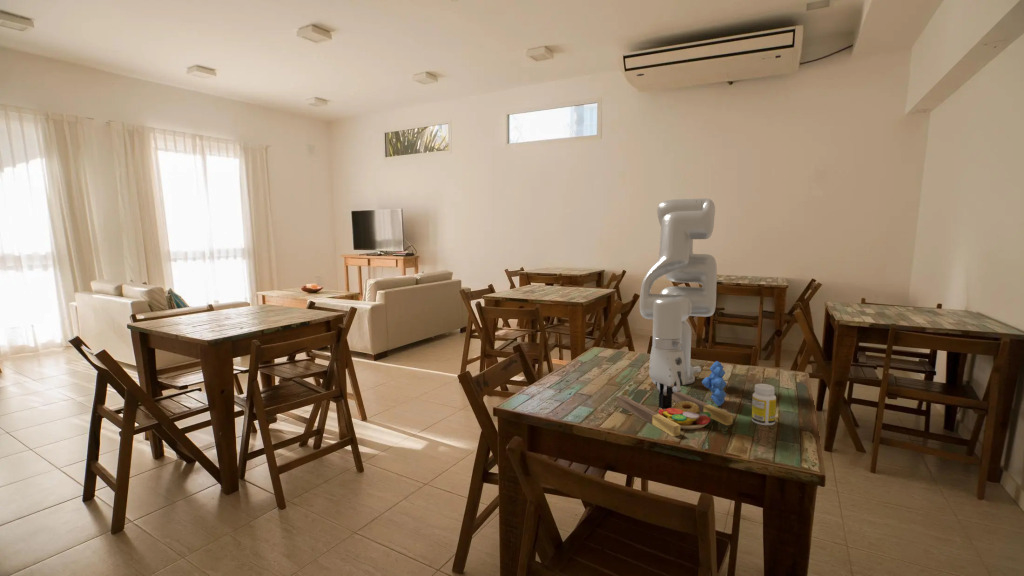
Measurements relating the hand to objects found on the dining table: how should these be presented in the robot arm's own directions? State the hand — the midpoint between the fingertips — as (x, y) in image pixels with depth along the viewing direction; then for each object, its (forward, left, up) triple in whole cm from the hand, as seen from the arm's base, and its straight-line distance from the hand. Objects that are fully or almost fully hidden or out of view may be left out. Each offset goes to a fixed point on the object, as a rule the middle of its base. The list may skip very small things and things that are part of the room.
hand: (665, 407), depth 132 cm
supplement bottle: (-18, +16, -1) cm, 24 cm away
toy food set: (0, +8, -1) cm, 8 cm away
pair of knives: (0, +2, -1) cm, 3 cm away
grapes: (-17, 0, -1) cm, 17 cm away
